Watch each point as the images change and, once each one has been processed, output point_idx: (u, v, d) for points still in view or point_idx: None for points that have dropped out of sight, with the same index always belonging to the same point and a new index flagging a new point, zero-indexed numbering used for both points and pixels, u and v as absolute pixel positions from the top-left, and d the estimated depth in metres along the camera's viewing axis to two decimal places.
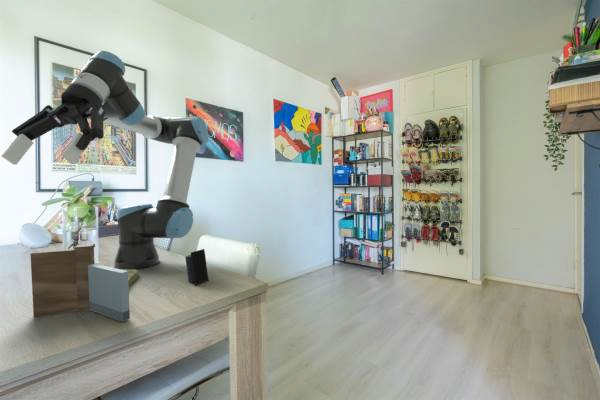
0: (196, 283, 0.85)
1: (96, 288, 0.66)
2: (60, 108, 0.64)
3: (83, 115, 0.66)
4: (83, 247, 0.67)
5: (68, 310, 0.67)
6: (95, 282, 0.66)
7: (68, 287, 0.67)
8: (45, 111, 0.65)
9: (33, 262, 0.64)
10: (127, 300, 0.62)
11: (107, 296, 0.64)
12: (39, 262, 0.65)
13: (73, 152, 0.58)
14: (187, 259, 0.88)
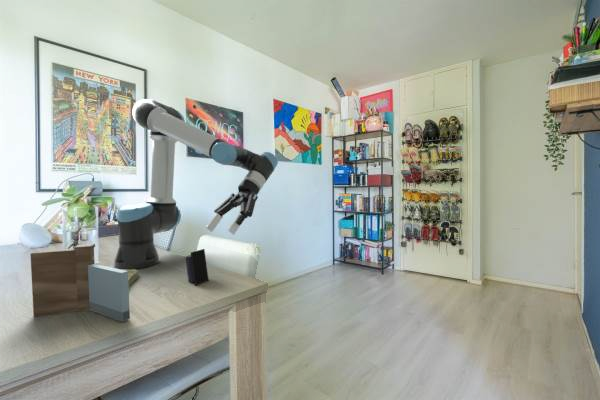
0: (196, 283, 0.85)
1: (96, 288, 0.66)
2: None
3: None
4: (83, 247, 0.67)
5: (68, 310, 0.67)
6: (95, 282, 0.66)
7: (68, 287, 0.67)
8: None
9: (33, 262, 0.64)
10: (127, 300, 0.62)
11: (107, 296, 0.64)
12: (39, 262, 0.65)
13: None
14: (187, 259, 0.88)
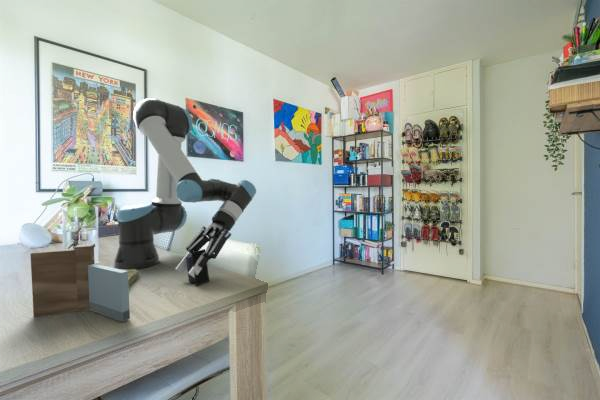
0: (197, 283, 0.84)
1: (96, 288, 0.66)
2: None
3: None
4: (83, 247, 0.67)
5: (68, 310, 0.67)
6: (95, 282, 0.66)
7: (68, 287, 0.67)
8: None
9: (33, 262, 0.64)
10: (127, 300, 0.62)
11: (107, 296, 0.64)
12: (39, 262, 0.65)
13: None
14: (188, 259, 0.87)
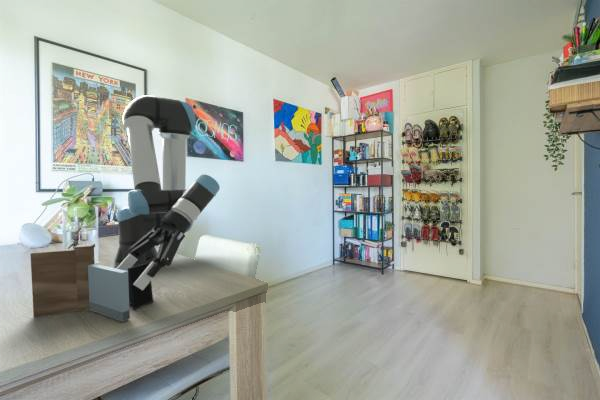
0: (135, 306, 0.69)
1: (96, 288, 0.66)
2: None
3: None
4: (83, 247, 0.67)
5: (68, 310, 0.67)
6: (95, 282, 0.66)
7: (68, 287, 0.67)
8: None
9: (33, 262, 0.64)
10: (127, 300, 0.62)
11: (107, 296, 0.64)
12: (39, 262, 0.65)
13: None
14: None
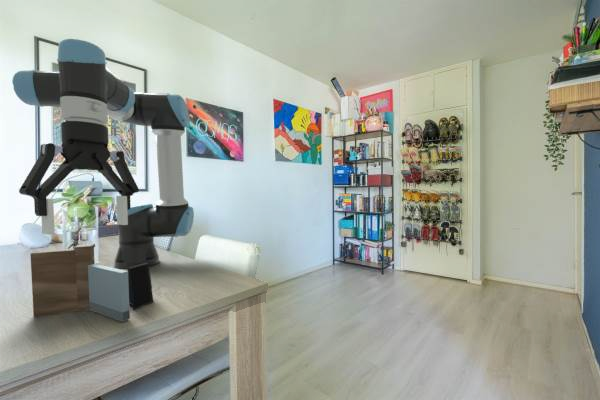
0: (135, 306, 0.69)
1: (96, 288, 0.66)
2: (84, 158, 0.54)
3: None
4: (83, 247, 0.67)
5: (68, 310, 0.67)
6: (95, 282, 0.66)
7: (68, 287, 0.67)
8: (53, 155, 0.51)
9: (33, 262, 0.64)
10: (127, 300, 0.62)
11: (107, 296, 0.64)
12: (39, 262, 0.65)
13: None
14: None
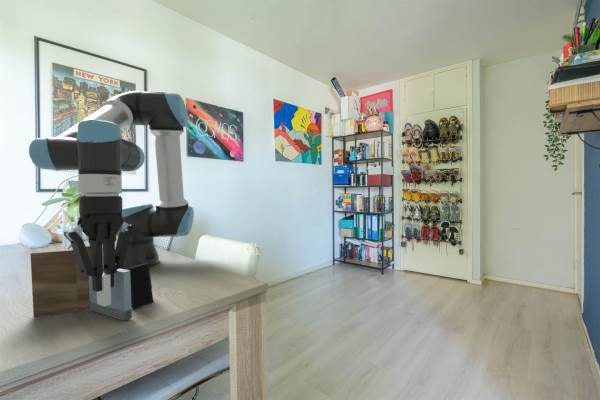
0: (135, 306, 0.69)
1: None
2: (102, 228, 0.58)
3: None
4: None
5: (68, 310, 0.67)
6: None
7: (68, 287, 0.67)
8: (81, 238, 0.55)
9: (33, 262, 0.64)
10: (129, 299, 0.63)
11: None
12: (39, 262, 0.65)
13: None
14: None
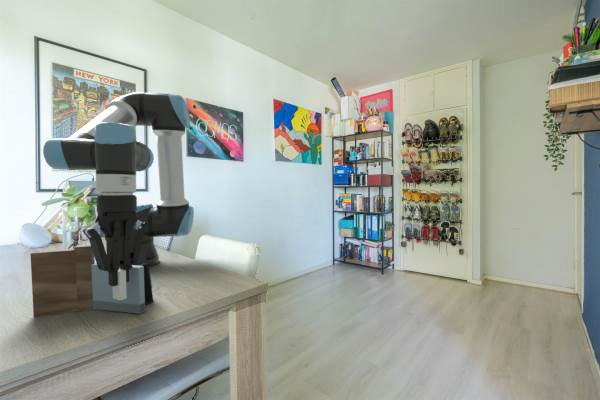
0: None
1: (103, 286, 0.67)
2: (118, 226, 0.61)
3: None
4: (83, 247, 0.67)
5: (68, 310, 0.67)
6: (102, 280, 0.67)
7: (68, 287, 0.67)
8: (99, 235, 0.58)
9: (33, 262, 0.64)
10: (143, 293, 0.67)
11: None
12: (39, 262, 0.65)
13: None
14: None
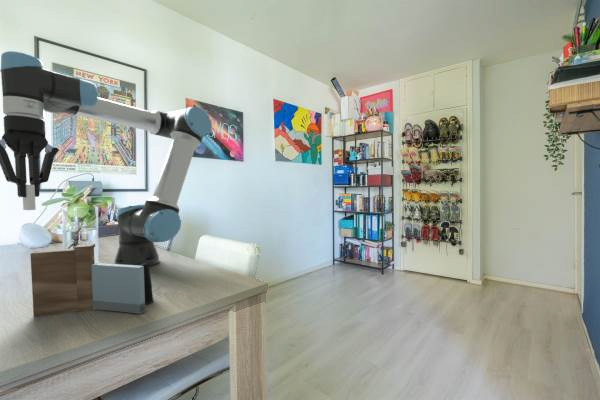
0: None
1: (103, 286, 0.67)
2: (25, 144, 0.70)
3: None
4: (83, 247, 0.67)
5: (68, 310, 0.67)
6: (102, 280, 0.67)
7: (68, 287, 0.67)
8: (4, 149, 0.67)
9: (33, 262, 0.64)
10: (143, 293, 0.67)
11: (119, 292, 0.67)
12: (39, 262, 0.65)
13: None
14: None
